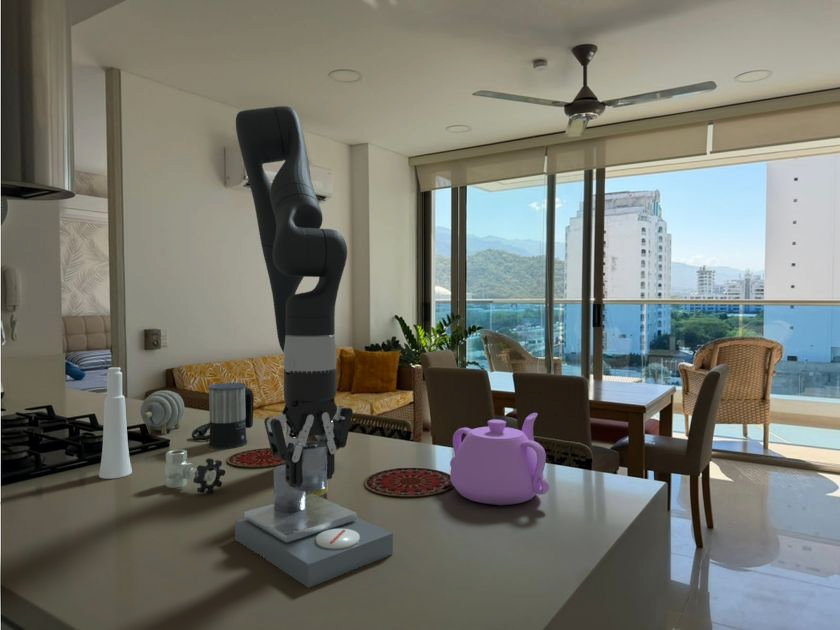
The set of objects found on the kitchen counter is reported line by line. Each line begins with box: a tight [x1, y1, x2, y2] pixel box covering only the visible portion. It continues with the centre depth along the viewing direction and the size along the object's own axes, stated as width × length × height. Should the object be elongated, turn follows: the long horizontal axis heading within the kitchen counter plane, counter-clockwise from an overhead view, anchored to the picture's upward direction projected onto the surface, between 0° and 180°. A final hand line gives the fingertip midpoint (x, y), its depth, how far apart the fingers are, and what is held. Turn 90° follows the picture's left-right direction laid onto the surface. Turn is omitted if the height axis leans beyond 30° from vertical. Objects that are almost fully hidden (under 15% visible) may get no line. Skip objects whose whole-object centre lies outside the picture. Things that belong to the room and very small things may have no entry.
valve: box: [164, 449, 226, 495], centre depth 111 cm, size 7×7×12 cm
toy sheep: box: [140, 390, 185, 436], centre depth 157 cm, size 11×17×11 cm, turn 1°
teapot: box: [449, 412, 550, 506], centre depth 110 cm, size 22×22×14 cm
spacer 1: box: [273, 464, 306, 513], centre depth 89 cm, size 5×5×6 cm
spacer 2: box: [295, 441, 327, 491], centre depth 85 cm, size 5×5×6 cm
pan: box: [243, 494, 358, 543], centre depth 87 cm, size 12×12×1 cm
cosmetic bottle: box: [98, 366, 133, 480], centre depth 119 cm, size 6×6×22 cm
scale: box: [234, 517, 394, 589], centre depth 85 cm, size 14×20×4 cm
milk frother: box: [191, 382, 255, 450], centre depth 147 cm, size 14×16×15 cm
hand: (310, 481), depth 85 cm, fingers closed on spacer 2, 4 cm apart
